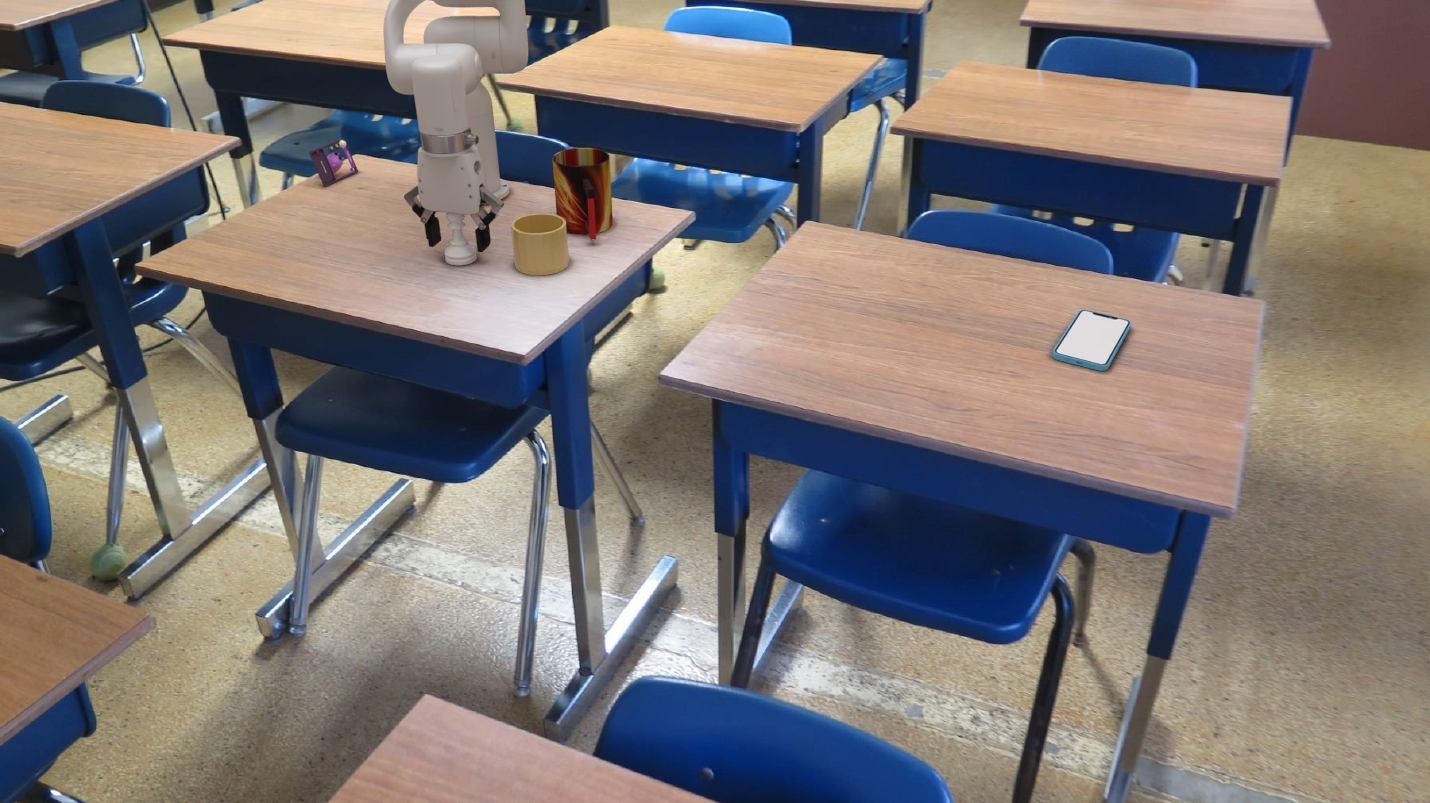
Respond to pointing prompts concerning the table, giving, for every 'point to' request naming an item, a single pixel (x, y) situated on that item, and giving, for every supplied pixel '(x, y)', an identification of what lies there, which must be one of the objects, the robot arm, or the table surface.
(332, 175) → the game card
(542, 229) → the yellow cup
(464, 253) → the chess pawn
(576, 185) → the mug
